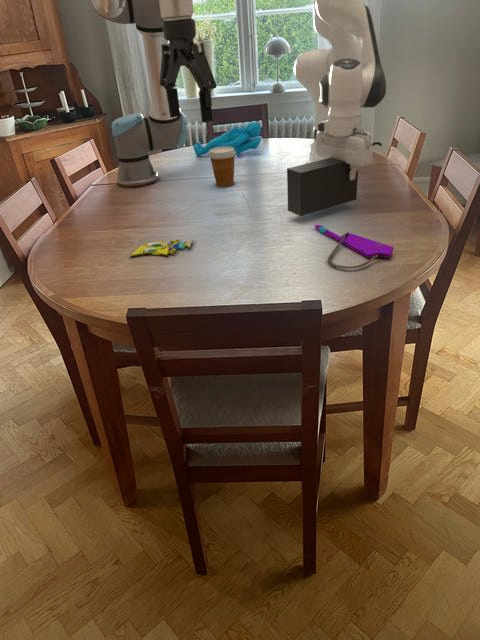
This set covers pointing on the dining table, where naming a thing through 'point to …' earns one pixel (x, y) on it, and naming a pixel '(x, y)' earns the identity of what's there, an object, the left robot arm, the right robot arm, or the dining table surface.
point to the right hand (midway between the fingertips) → (342, 176)
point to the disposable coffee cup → (223, 165)
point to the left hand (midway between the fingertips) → (190, 119)
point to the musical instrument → (358, 246)
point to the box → (319, 186)
